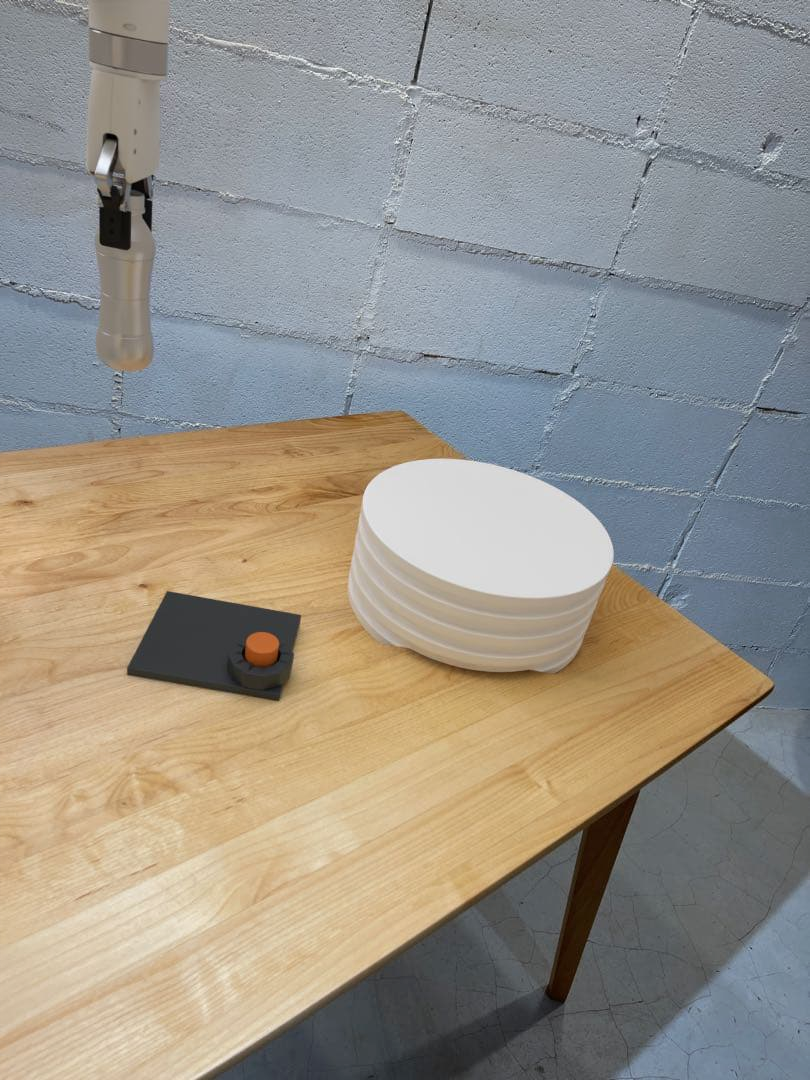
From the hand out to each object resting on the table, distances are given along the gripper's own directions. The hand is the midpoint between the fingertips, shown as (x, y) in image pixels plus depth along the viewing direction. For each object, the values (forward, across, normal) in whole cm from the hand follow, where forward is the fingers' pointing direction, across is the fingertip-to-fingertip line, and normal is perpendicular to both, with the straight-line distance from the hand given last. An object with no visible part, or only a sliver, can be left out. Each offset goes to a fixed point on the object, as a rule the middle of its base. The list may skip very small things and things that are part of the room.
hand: (126, 239), depth 91 cm
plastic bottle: (+15, 0, 0) cm, 15 cm away
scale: (+30, +32, +20) cm, 48 cm away
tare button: (+26, +35, +25) cm, 50 cm away
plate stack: (+29, +15, +45) cm, 56 cm away
